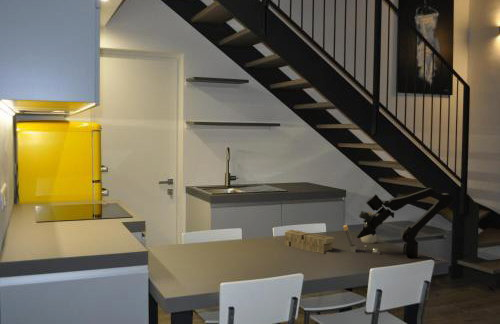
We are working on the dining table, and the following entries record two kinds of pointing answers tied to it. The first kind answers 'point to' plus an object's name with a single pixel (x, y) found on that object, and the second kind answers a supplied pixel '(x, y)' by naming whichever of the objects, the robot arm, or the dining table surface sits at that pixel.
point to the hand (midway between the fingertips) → (357, 237)
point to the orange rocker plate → (348, 235)
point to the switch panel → (374, 251)
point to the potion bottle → (369, 236)
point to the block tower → (308, 241)
